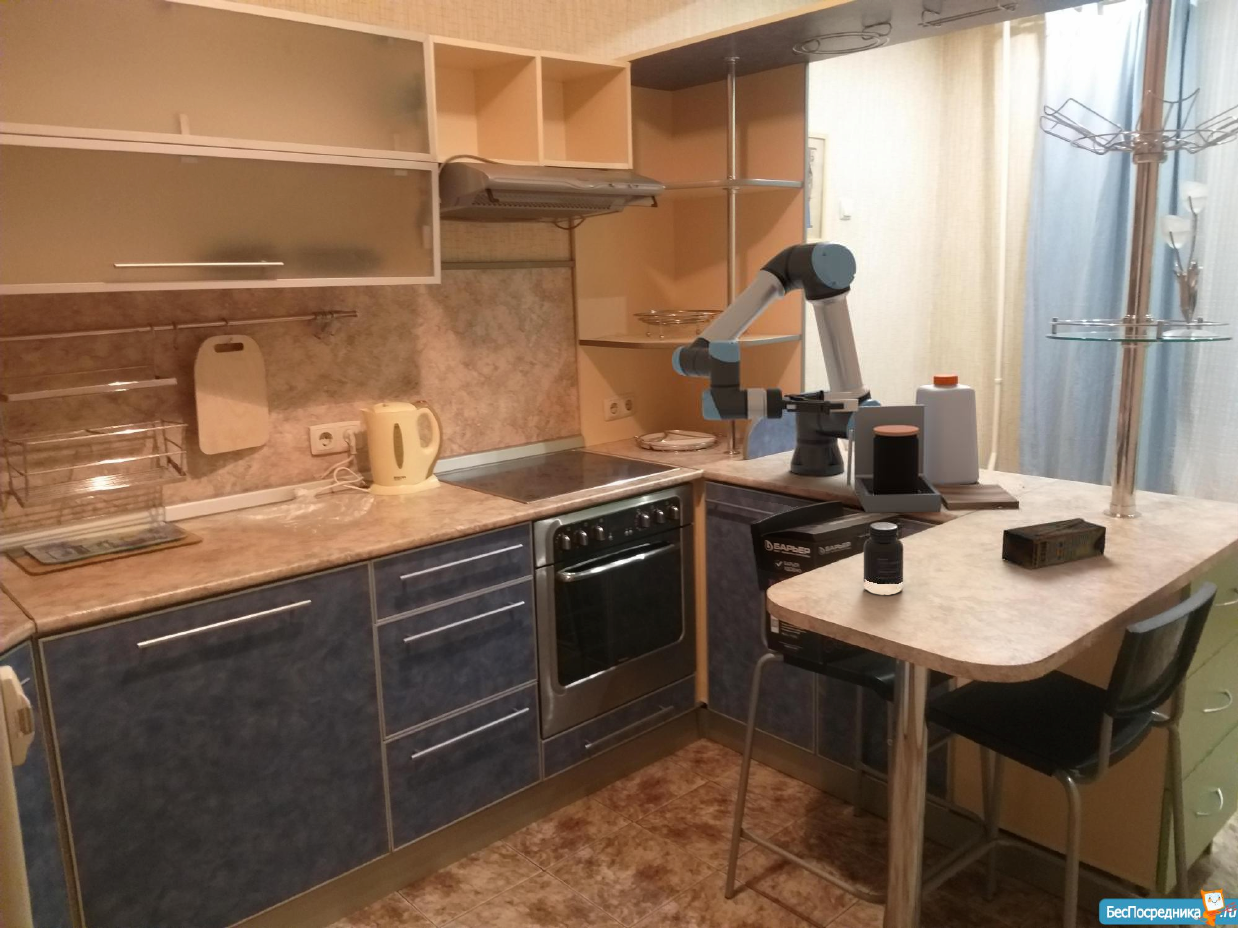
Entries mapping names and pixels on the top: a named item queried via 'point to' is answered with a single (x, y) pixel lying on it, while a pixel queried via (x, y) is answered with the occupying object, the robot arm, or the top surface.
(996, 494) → the walnut board
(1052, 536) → the beverage carton
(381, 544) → the top surface
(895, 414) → the equipment case
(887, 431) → the coffee jar
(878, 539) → the supplement bottle
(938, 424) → the plastic bottle
